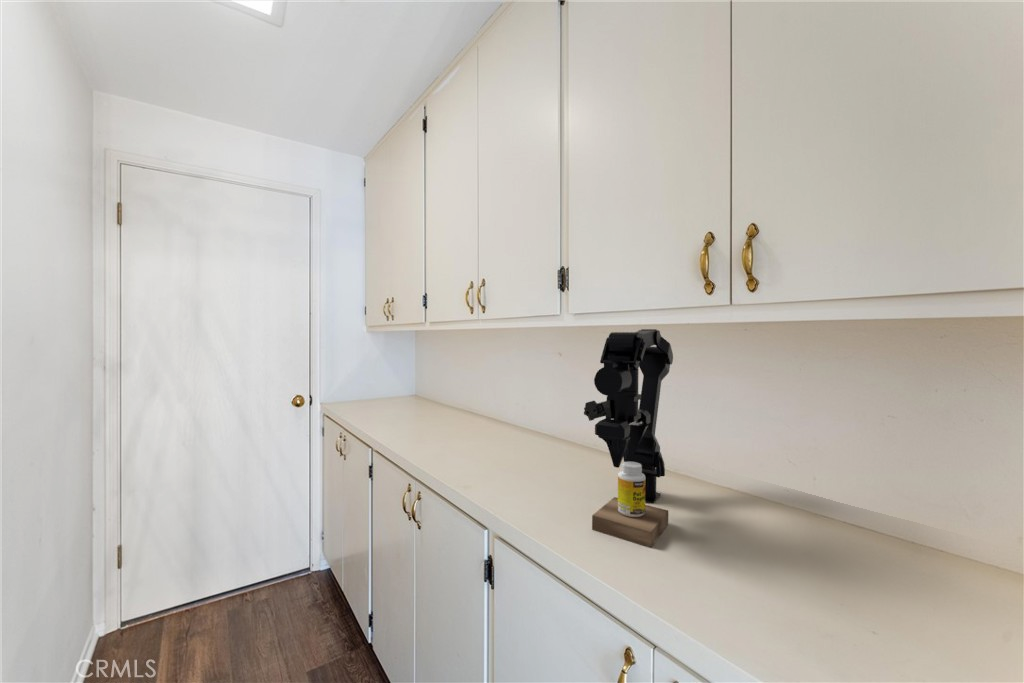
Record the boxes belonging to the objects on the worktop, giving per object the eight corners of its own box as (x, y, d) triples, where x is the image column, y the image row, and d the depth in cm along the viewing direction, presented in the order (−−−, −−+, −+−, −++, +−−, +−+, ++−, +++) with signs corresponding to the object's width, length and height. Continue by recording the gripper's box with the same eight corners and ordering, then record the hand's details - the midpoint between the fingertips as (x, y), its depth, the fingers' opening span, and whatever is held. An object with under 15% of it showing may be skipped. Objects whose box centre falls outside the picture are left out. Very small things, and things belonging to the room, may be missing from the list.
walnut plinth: (614, 510, 94) (614, 497, 94) (668, 524, 87) (668, 510, 87) (592, 529, 84) (592, 515, 84) (650, 547, 77) (650, 532, 77)
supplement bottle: (633, 520, 81) (633, 469, 81) (611, 511, 86) (612, 462, 86) (650, 514, 85) (651, 465, 85) (629, 505, 89) (629, 458, 89)
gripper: (605, 383, 100) (605, 445, 101) (571, 391, 85) (571, 466, 85) (651, 386, 94) (650, 453, 94) (623, 396, 79) (623, 476, 79)
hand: (624, 461), depth 88 cm, fingers open, 9 cm apart
